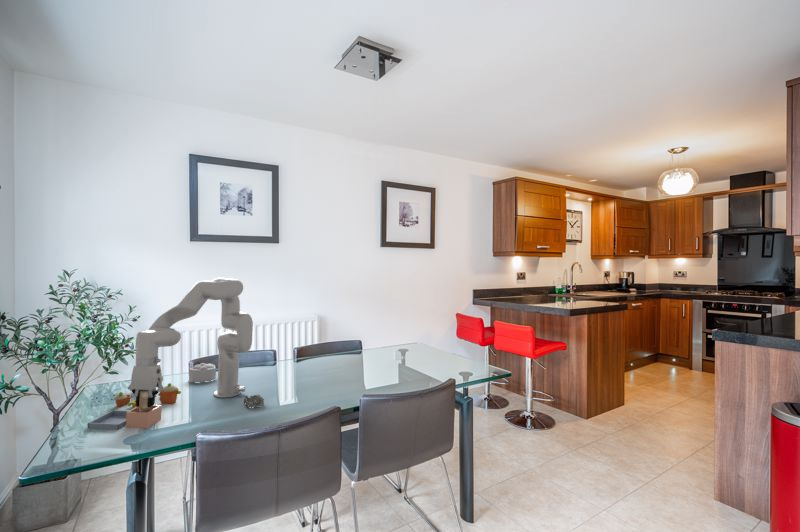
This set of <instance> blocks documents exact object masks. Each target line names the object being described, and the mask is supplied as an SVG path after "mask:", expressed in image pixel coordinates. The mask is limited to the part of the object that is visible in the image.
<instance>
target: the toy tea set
mask: <svg viewBox="0 0 800 532" xmlns="http://www.w3.org/2000/svg"><path fill="white" fill-rule="evenodd" d="M163 388H164V389H163V390H162V391H160V392H159V393H157V395H158V396H159V397H160V402H161V403H160V405H174V404H176V402H177V398H178V395H180V394H182V392H181V390H179V388H178V387H177V386H175V385H172V383H170V382H169V383H167V385H166V386H163ZM157 395H155V398H157ZM131 398H132V395H131V394H124V393H123V391H121V392H120V391H119V393H118V394H117V395H116V396H114V397H113V400H115V403H116V408H118V409H120V408H122V407H124V406H127V407H131V406H132V409H133V408H135V407H136V399H134V400H132V401H131Z"/></svg>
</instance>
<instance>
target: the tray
mask: <svg viewBox="0 0 800 532" xmlns="http://www.w3.org/2000/svg"><path fill="white" fill-rule="evenodd" d="M128 411H129V410H124V409H123V410H122V409H121V410H120V409H119V410H118V409H112V410H111V411H109V412H107V413H105V414H103V415H101V416H99V417H97V418H95V419H93V420H91V421H90V422H89V421H88V423H87V429H88V428H90V429H92V430H110V429H111V430H112V431H113V430H114V431H115V430H117V431H118V430H121V429H122V428H124V427H126V412H128Z"/></svg>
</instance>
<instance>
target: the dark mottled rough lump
mask: <svg viewBox="0 0 800 532" xmlns="http://www.w3.org/2000/svg"><path fill="white" fill-rule="evenodd" d="M243 397H244V399H243V405H245V406H246V405H247V406H246V407H248V408H249V407H251V408H250V409H252V407H255V406H262V405H263V406H264V405H265V404H264V403H265V398H263V396H261V395H260V394H259V393H258V394H253V395H250V396H249V397H248V395H245V394H243ZM245 403H246V404H245ZM248 405H249V406H248ZM263 406H262V407H263ZM255 408H256V407H255Z"/></svg>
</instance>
